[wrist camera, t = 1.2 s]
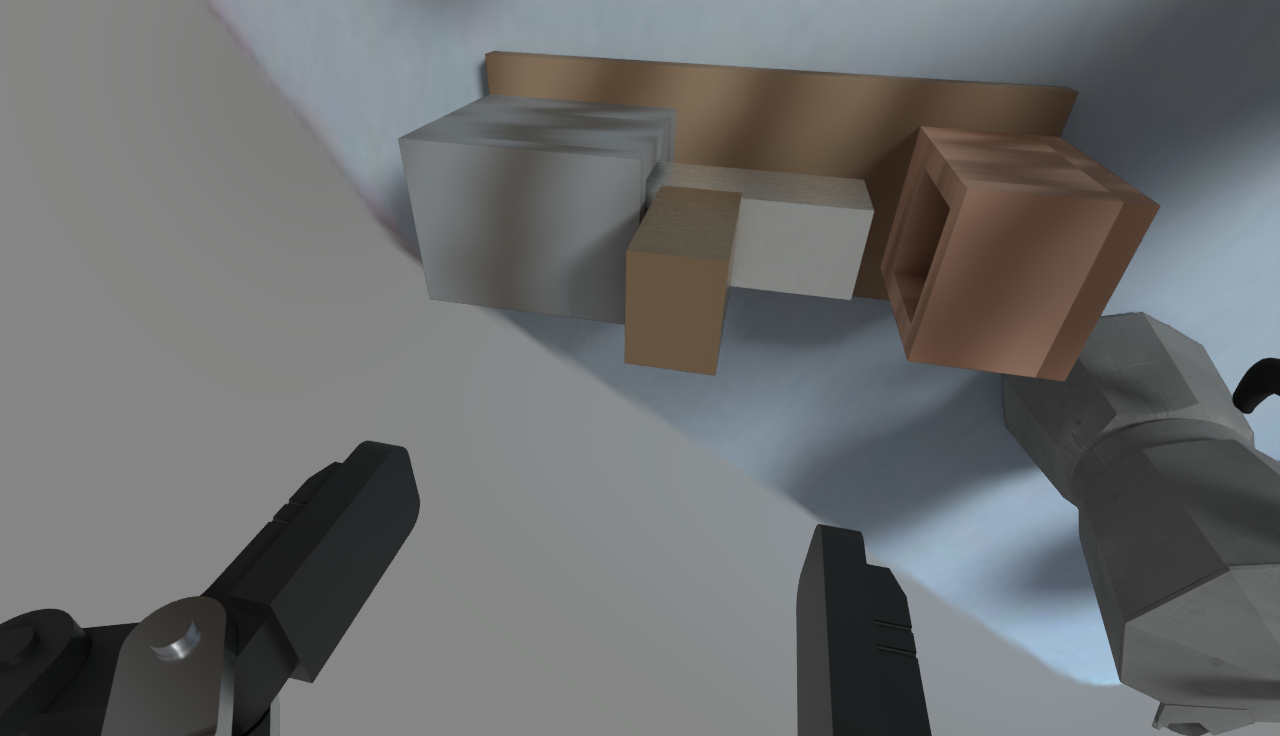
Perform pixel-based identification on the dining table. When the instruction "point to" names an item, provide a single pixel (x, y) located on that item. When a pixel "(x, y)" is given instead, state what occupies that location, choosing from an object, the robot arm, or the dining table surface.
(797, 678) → the robot arm
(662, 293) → the two-tone wooden block
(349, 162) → the dining table surface
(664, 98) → the block assembly on base
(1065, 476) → the coffeepot
